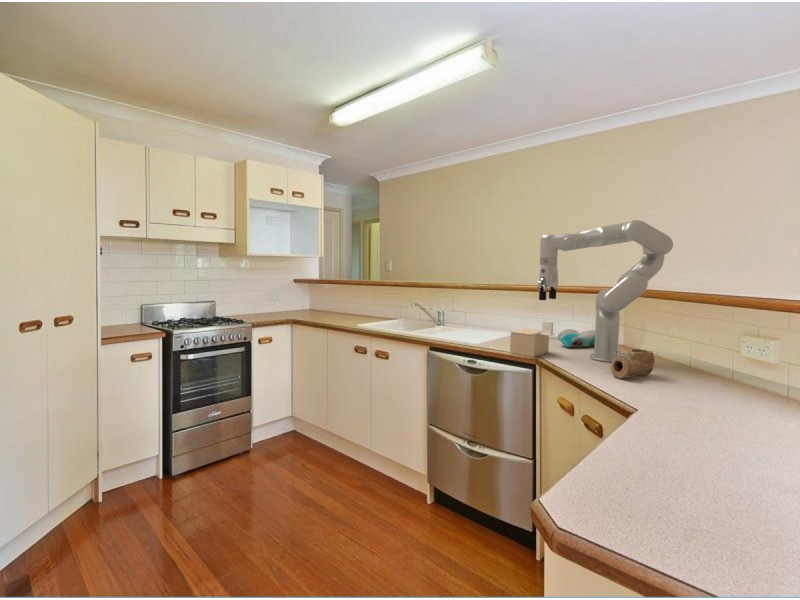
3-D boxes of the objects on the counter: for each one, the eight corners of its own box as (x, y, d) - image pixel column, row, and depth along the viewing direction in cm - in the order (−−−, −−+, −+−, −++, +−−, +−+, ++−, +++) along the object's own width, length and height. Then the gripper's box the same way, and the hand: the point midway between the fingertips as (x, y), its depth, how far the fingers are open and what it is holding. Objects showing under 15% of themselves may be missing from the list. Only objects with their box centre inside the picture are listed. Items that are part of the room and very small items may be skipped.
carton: (548, 352, 196) (549, 332, 195) (533, 357, 185) (534, 336, 185) (525, 348, 205) (525, 329, 204) (510, 353, 194) (510, 333, 193)
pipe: (606, 375, 157) (607, 349, 156) (637, 372, 162) (638, 347, 161) (626, 382, 148) (628, 355, 147) (658, 378, 154) (660, 351, 153)
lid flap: (558, 333, 192) (559, 320, 191) (544, 337, 181) (545, 323, 181) (525, 329, 204) (526, 317, 203) (510, 332, 193) (511, 320, 192)
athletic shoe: (559, 350, 207) (573, 334, 200) (553, 337, 214) (566, 321, 206) (601, 359, 214) (615, 344, 207) (593, 346, 221) (607, 331, 214)
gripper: (547, 262, 178) (546, 301, 179) (564, 262, 190) (563, 298, 191) (531, 262, 183) (530, 300, 184) (549, 262, 195) (548, 297, 196)
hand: (547, 299), depth 188 cm, fingers open, 9 cm apart
